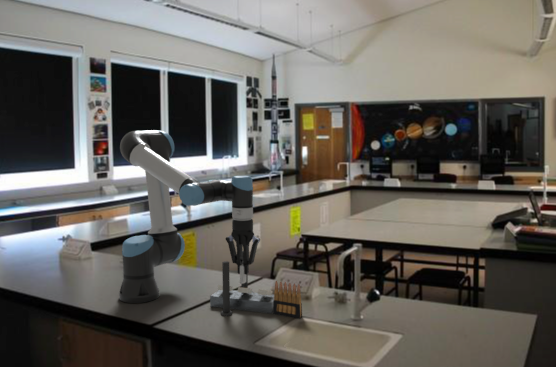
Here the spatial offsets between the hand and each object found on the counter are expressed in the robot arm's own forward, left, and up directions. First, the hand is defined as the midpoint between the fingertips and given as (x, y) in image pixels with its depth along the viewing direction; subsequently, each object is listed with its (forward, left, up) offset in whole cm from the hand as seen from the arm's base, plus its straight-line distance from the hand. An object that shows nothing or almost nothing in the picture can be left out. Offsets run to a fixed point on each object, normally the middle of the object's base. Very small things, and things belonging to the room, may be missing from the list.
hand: (243, 282), depth 197 cm
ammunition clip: (+18, -3, -10) cm, 21 cm away
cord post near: (-3, -8, -9) cm, 13 cm away
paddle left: (-8, +2, -3) cm, 9 cm away
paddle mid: (0, +2, -3) cm, 4 cm away
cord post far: (-3, +8, -9) cm, 13 cm away
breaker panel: (0, +2, -9) cm, 10 cm away
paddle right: (+8, +2, -3) cm, 9 cm away
